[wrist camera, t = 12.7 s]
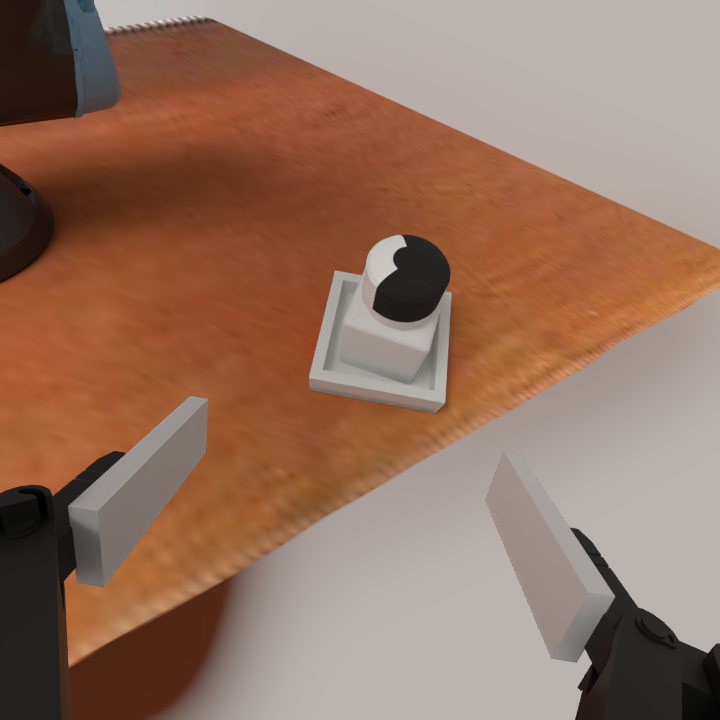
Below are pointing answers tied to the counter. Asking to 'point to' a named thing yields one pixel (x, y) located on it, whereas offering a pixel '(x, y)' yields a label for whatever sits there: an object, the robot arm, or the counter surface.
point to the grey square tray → (366, 385)
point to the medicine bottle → (395, 308)
